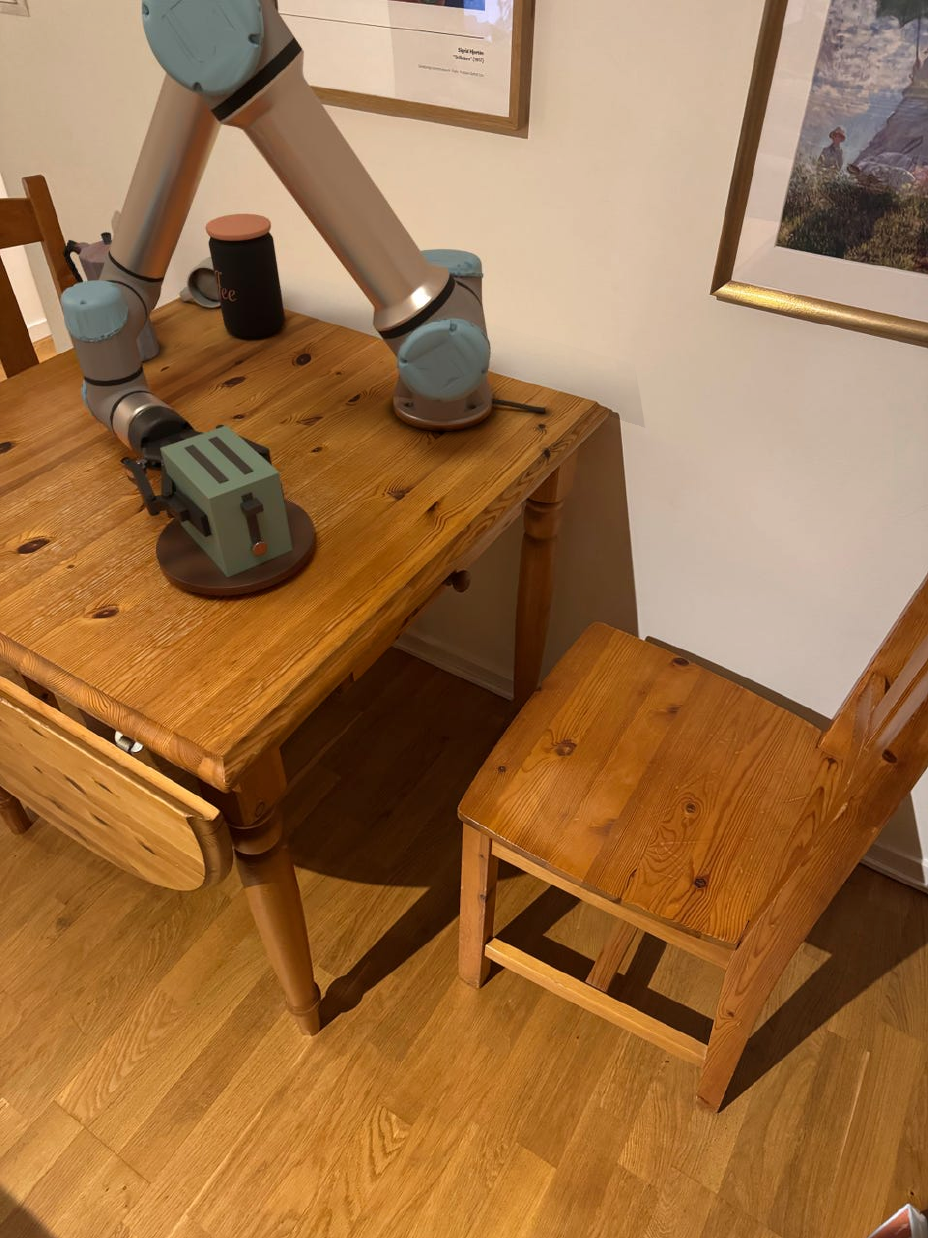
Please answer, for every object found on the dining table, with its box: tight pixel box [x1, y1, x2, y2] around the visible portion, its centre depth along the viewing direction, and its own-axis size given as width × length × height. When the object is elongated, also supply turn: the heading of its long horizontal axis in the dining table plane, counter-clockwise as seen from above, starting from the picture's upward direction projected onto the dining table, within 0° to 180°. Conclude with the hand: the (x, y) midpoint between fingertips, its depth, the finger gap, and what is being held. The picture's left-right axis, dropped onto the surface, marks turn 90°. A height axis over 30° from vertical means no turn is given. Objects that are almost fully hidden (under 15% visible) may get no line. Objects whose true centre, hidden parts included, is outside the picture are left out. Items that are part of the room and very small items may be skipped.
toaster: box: [155, 425, 316, 596], centre depth 102 cm, size 19×19×12 cm
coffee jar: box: [205, 213, 286, 341], centre depth 148 cm, size 11×11×18 cm
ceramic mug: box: [178, 256, 221, 309], centre depth 162 cm, size 11×8×8 cm
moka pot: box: [62, 231, 161, 363], centre depth 141 cm, size 10×15×20 cm, turn 78°
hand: (244, 509), depth 98 cm, fingers closed on toaster, 9 cm apart
